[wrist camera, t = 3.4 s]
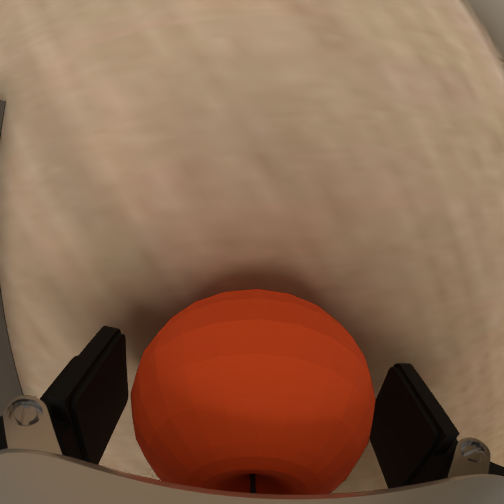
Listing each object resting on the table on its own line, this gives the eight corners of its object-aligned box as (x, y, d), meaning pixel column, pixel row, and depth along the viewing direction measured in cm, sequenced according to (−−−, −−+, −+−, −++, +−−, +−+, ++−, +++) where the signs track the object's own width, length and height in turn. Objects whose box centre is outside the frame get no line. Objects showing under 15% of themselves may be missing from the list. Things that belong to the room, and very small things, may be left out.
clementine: (350, 409, 13) (395, 539, 6) (202, 435, 13) (181, 566, 6) (328, 238, 11) (433, 344, 4) (138, 280, 11) (30, 405, 4)
